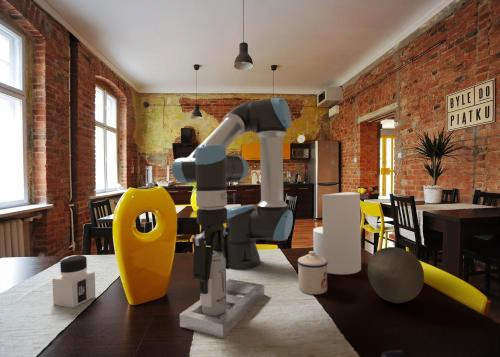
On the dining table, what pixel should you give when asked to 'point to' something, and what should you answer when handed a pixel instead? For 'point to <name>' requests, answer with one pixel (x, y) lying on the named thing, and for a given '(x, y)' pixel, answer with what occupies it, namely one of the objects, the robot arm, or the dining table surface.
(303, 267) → the teacup with lid
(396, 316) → the dining table surface
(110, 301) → the dining table surface
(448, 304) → the dining table surface
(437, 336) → the dining table surface
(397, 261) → the cantaloupe
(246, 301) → the rail
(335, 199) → the cylinder
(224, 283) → the energy drink can
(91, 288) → the container
